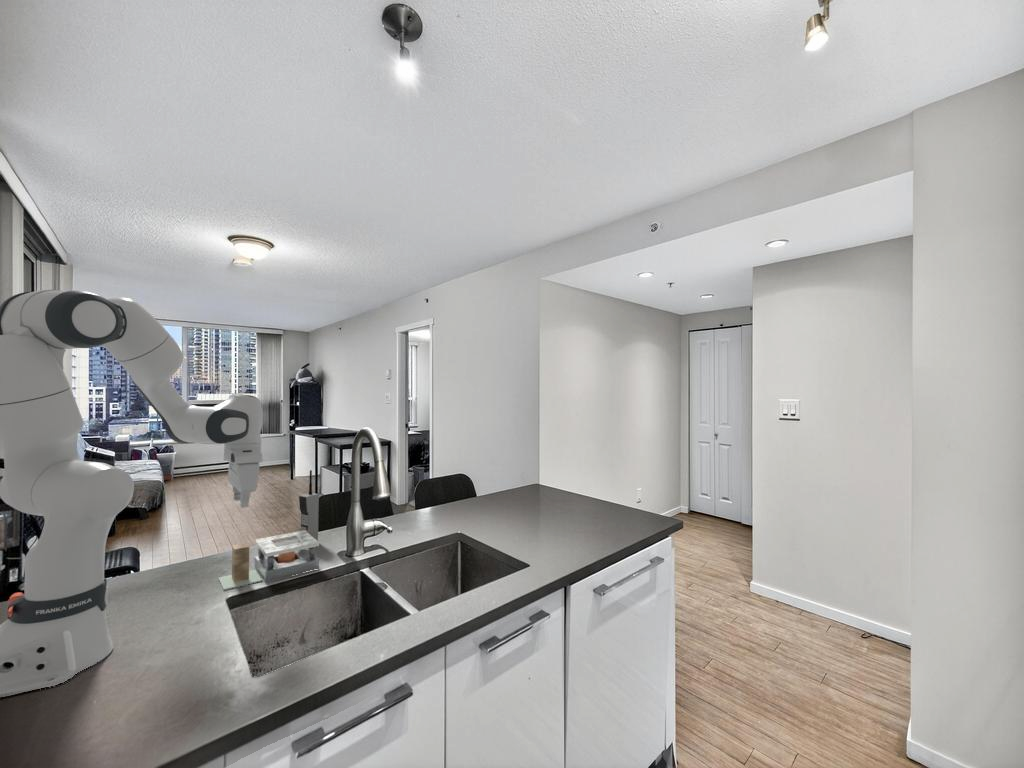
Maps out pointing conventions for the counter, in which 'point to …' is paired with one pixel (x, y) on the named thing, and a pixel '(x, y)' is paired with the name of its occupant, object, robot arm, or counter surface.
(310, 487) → the vintage mobile phone
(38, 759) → the counter surface
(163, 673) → the counter surface
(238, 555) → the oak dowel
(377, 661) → the counter surface
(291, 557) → the breaker button
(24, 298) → the robot arm
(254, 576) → the sage mat
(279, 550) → the grey box with top
